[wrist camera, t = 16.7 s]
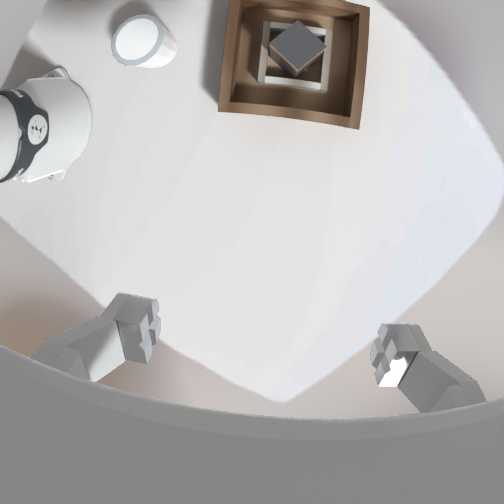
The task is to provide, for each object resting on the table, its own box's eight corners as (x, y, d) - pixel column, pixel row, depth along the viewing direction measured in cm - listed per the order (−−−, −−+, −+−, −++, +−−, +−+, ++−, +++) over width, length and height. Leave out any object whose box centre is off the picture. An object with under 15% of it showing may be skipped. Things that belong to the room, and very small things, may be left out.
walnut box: (224, 112, 35) (217, 111, 31) (236, 2, 28) (231, -12, 24) (348, 127, 35) (359, 129, 31) (359, 18, 28) (369, 7, 24)
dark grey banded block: (293, 79, 32) (298, 70, 25) (270, 57, 31) (269, 43, 24) (316, 60, 31) (327, 46, 24) (293, 38, 30) (298, 19, 23)
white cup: (128, 67, 33) (102, 61, 27) (145, 23, 30) (123, 11, 24) (170, 77, 34) (150, 70, 27) (189, 32, 31) (173, 17, 24)
